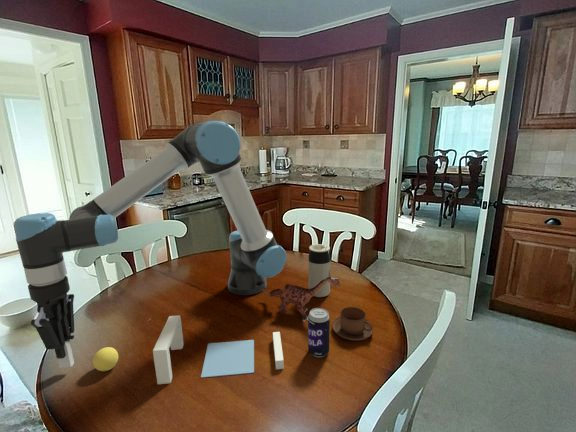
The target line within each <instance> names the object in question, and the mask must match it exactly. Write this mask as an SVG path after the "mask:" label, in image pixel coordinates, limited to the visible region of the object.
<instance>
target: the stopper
mask: <svg viewBox="0 0 576 432" xmlns="http://www.w3.org/2000/svg"><path fill="white" fill-rule="evenodd" d="M272 343H273V352H274V354H273V355H274V362H275V363H274V364H275V370H284V369H285V363H284V362H285V361H284V353H283V346H282V339H281V332H280V331H273V332H272Z"/></svg>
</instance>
